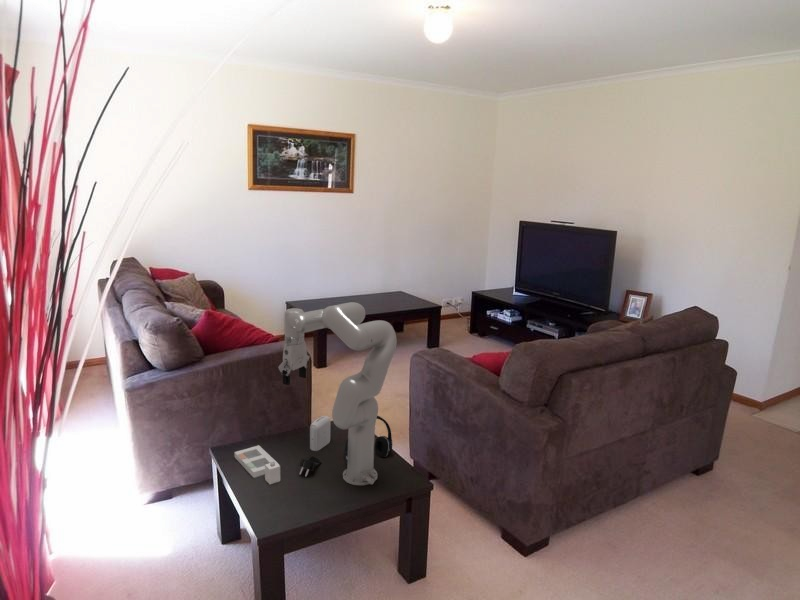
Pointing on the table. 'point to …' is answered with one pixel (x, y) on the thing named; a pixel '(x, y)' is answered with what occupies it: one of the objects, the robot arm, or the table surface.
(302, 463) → the power plug
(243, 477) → the table surface
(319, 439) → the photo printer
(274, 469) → the plug
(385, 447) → the headphones
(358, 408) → the robot arm
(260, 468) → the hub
